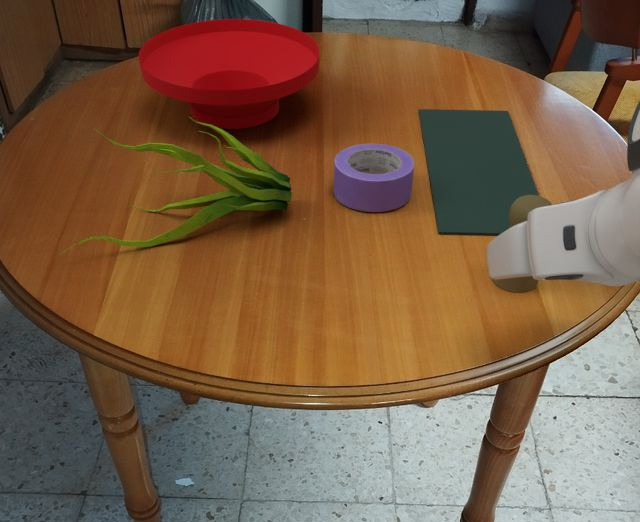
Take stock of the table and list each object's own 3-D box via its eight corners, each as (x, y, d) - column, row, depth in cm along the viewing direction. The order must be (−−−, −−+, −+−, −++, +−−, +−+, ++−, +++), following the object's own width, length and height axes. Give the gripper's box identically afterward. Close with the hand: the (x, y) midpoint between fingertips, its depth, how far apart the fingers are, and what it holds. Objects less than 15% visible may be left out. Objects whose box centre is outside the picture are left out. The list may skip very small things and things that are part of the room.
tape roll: (334, 172, 106) (335, 141, 102) (408, 174, 106) (412, 143, 102) (332, 212, 98) (333, 180, 95) (413, 214, 98) (417, 182, 94)
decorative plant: (95, 197, 101) (68, 95, 90) (294, 199, 101) (291, 97, 90) (62, 267, 89) (27, 160, 78) (288, 270, 89) (283, 163, 78)
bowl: (206, 66, 135) (199, 9, 127) (346, 93, 126) (348, 34, 119) (113, 127, 116) (100, 66, 109) (270, 165, 108) (267, 100, 100)
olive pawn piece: (526, 262, 90) (547, 185, 82) (545, 289, 86) (570, 211, 78) (483, 267, 89) (500, 190, 81) (501, 295, 85) (521, 217, 77)
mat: (418, 111, 121) (418, 108, 121) (507, 112, 121) (508, 110, 121) (438, 234, 95) (438, 231, 94) (552, 236, 94) (553, 234, 94)
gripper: (725, 193, 63) (640, 228, 77) (516, 209, 61) (467, 242, 75) (729, 261, 64) (644, 284, 78) (522, 279, 62) (472, 299, 75)
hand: (555, 264), depth 76 cm, fingers closed
